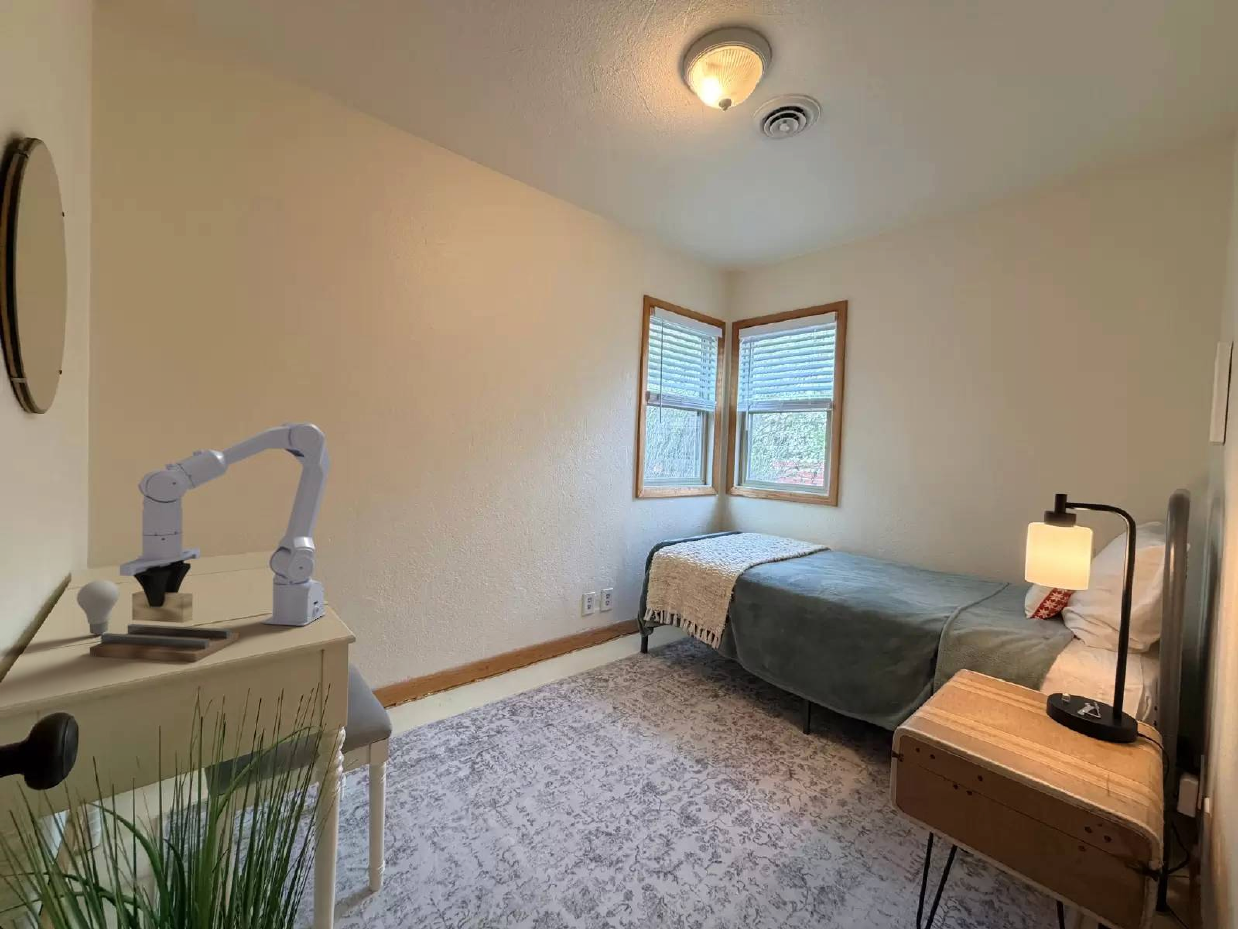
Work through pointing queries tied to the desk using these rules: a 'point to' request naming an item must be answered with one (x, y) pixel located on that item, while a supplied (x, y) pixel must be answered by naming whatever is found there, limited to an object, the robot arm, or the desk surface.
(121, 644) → the track board
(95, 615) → the lightbulb
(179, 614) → the wooden block
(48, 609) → the desk surface
